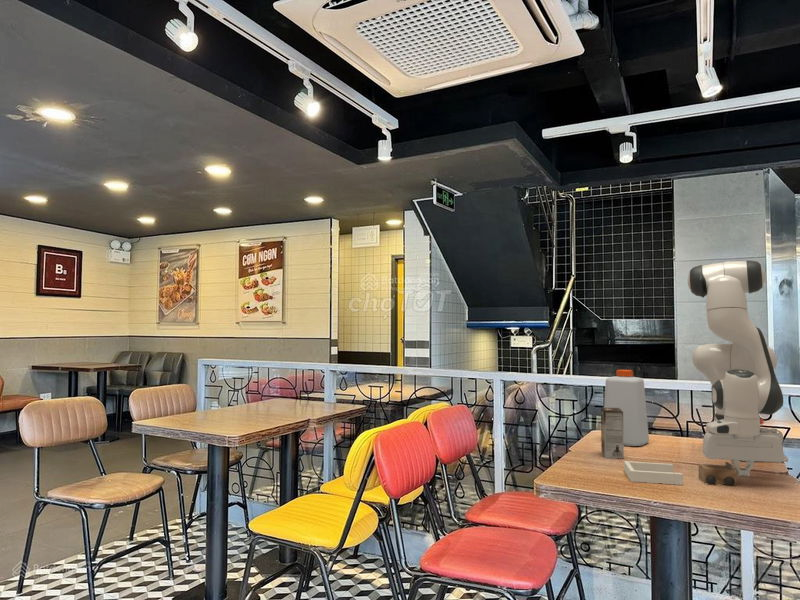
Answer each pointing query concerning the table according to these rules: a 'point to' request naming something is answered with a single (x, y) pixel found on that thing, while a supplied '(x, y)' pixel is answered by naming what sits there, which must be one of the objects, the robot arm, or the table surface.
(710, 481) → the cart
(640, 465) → the bay
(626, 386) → the plastic bottle
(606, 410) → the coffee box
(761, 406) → the robot arm
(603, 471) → the table surface
